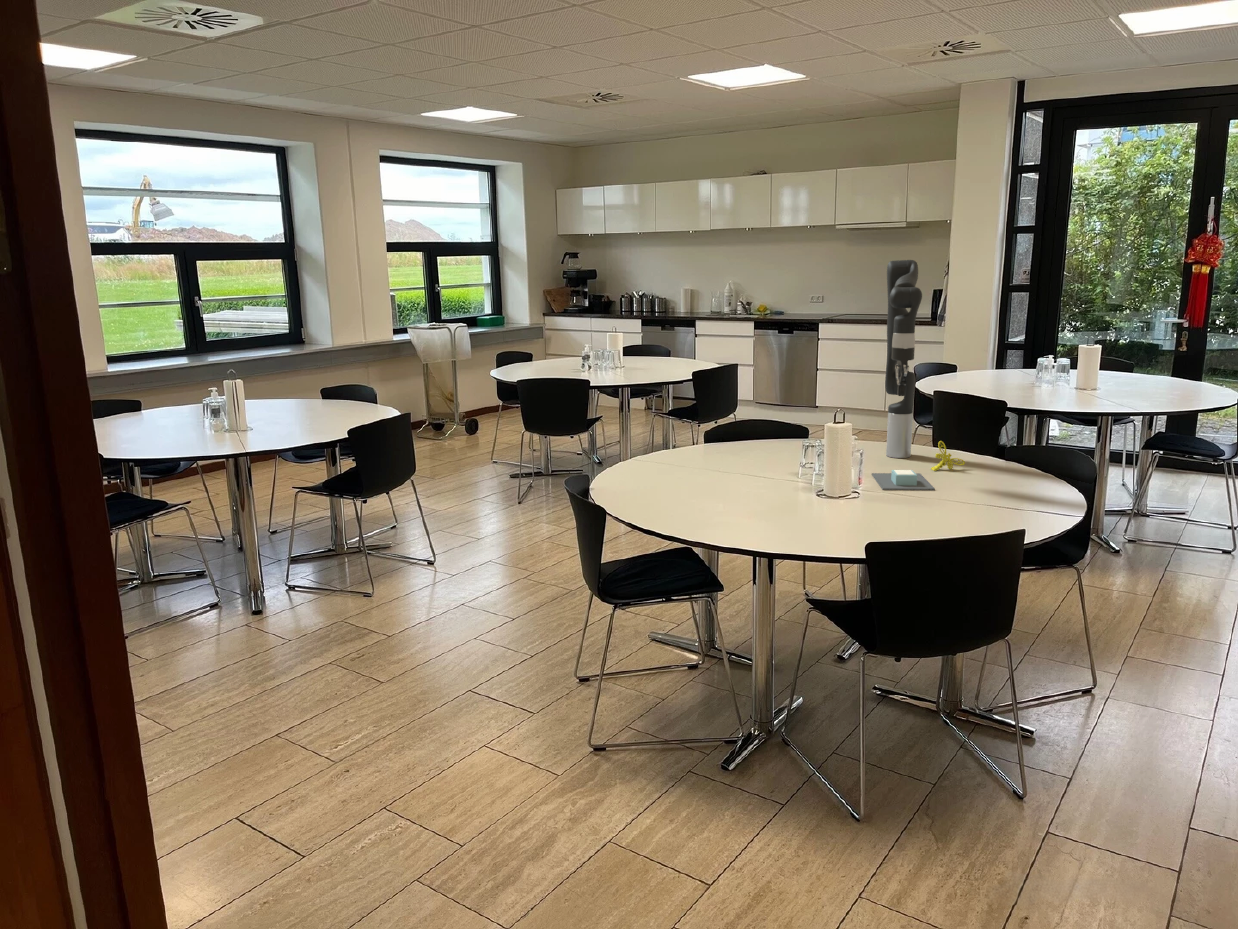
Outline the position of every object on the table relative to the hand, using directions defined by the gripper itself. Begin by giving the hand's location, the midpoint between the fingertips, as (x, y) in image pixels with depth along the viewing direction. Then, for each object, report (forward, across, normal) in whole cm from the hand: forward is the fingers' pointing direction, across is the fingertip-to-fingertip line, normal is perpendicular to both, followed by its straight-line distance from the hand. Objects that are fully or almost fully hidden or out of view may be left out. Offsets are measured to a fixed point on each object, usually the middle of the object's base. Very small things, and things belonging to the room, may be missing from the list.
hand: (900, 395), depth 317 cm
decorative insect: (+29, -11, +20) cm, 37 cm away
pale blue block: (+27, +8, 0) cm, 28 cm away
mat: (+29, +9, 0) cm, 30 cm away
